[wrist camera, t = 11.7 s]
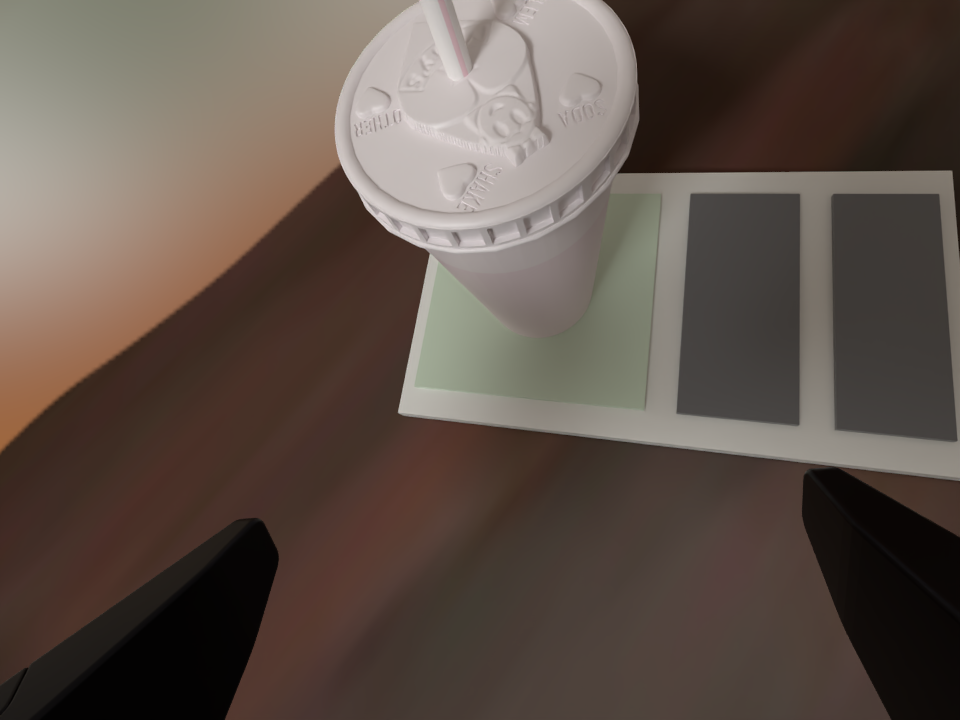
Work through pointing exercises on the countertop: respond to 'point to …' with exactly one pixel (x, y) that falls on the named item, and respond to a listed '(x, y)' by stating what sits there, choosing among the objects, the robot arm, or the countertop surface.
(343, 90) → the smoothie
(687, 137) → the countertop surface
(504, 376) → the board
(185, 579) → the robot arm
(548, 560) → the countertop surface
